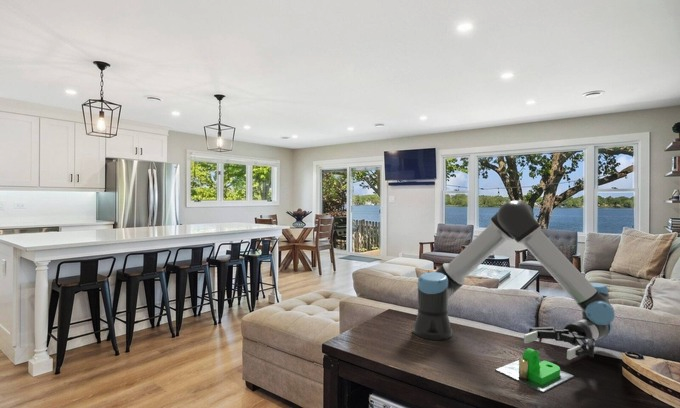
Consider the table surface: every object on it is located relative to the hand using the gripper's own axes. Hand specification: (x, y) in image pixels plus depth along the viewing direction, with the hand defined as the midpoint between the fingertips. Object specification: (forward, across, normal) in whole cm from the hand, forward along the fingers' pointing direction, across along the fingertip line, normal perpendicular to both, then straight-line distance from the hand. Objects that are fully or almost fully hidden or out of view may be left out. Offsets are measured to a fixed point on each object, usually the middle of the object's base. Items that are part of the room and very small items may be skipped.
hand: (545, 346), depth 114 cm
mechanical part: (+4, -1, -8) cm, 9 cm away
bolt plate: (+4, +1, -8) cm, 9 cm away
